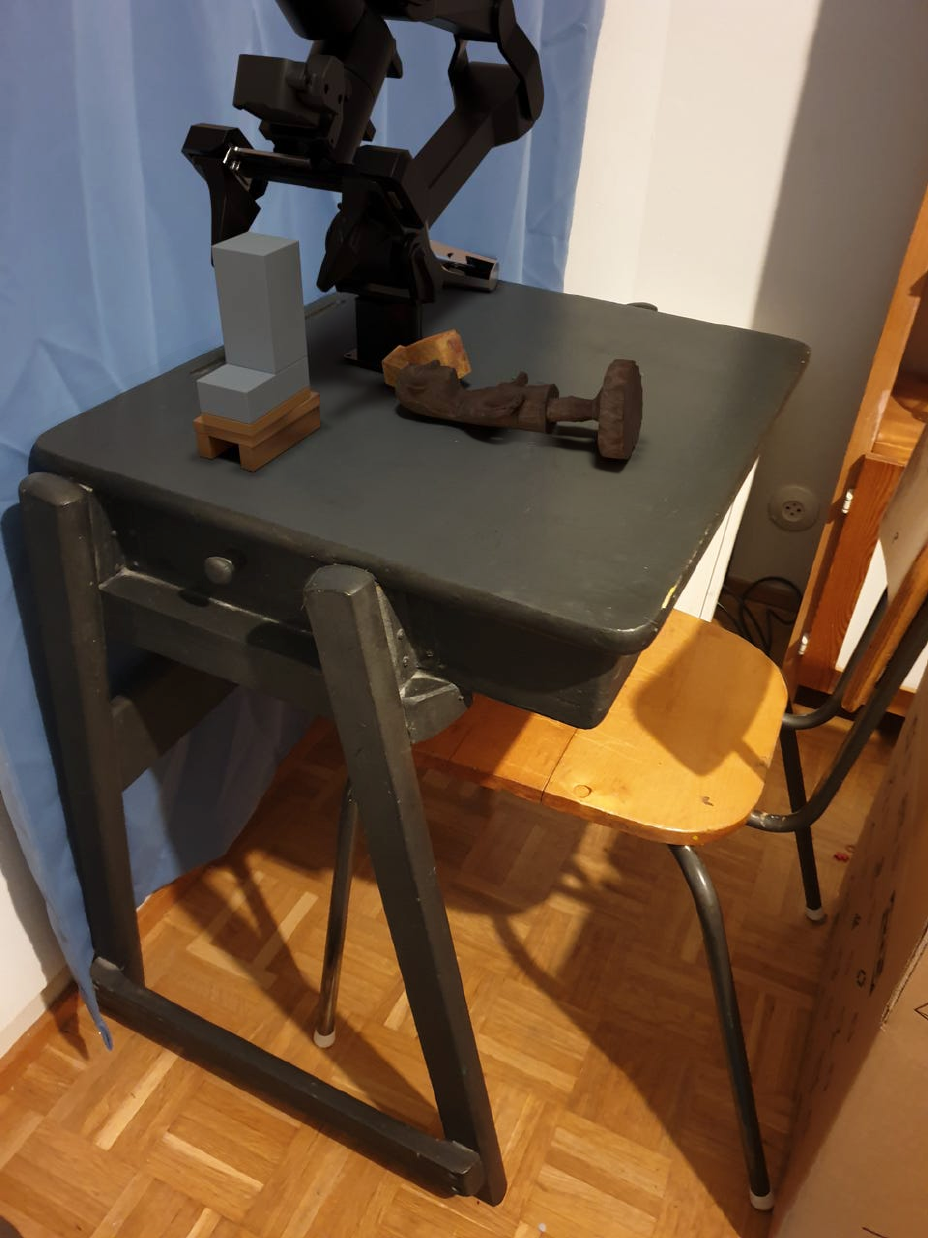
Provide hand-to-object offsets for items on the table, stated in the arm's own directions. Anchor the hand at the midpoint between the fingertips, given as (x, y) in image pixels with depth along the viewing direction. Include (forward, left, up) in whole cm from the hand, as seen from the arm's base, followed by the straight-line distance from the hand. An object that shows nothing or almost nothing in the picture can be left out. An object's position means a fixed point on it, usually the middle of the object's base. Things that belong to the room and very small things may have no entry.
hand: (267, 278), depth 68 cm
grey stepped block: (-3, 0, -9) cm, 10 cm away
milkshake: (+41, +3, -10) cm, 43 cm away
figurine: (+13, -25, -8) cm, 29 cm away
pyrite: (+16, -3, -10) cm, 19 cm away
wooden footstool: (-2, 0, -12) cm, 12 cm away
